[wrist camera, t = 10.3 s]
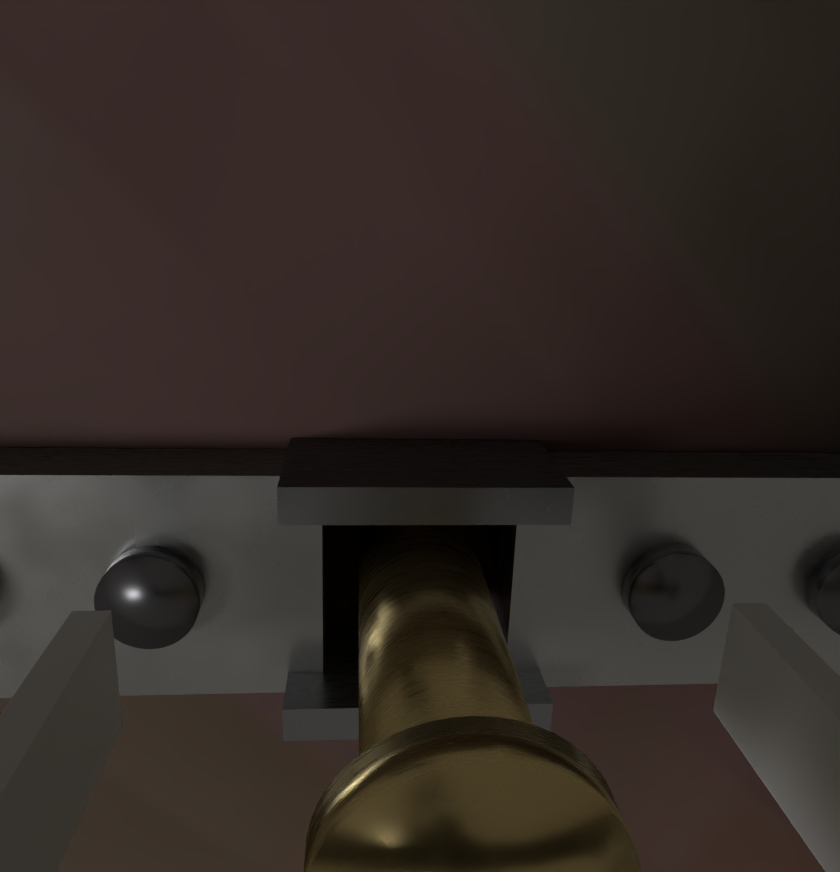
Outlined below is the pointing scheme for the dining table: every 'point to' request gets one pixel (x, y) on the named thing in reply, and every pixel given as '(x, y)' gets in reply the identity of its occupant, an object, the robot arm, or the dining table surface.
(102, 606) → the grey long bar piece
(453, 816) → the pin
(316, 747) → the dining table surface
